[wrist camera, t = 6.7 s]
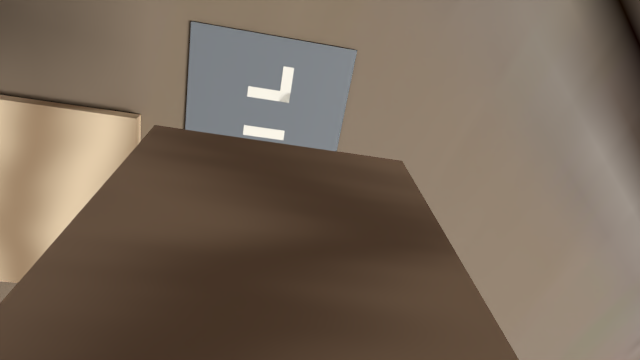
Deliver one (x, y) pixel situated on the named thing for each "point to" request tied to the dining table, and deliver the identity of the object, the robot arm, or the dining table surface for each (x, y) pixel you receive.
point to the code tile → (266, 87)
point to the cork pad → (52, 171)
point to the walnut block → (250, 263)
